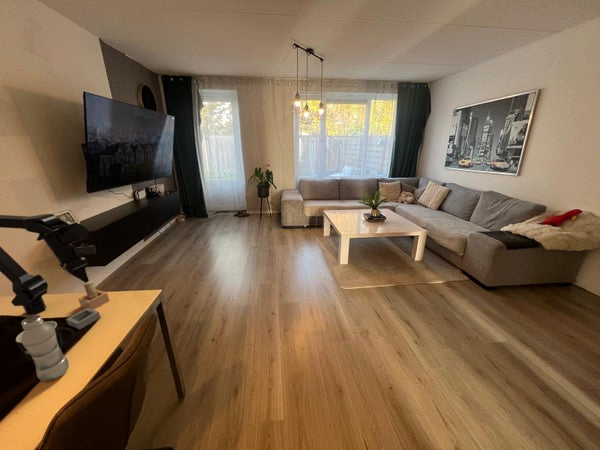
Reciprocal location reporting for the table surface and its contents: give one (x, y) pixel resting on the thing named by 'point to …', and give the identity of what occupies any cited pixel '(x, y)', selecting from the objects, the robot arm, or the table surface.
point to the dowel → (90, 290)
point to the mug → (58, 337)
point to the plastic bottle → (43, 348)
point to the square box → (94, 300)
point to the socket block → (84, 322)
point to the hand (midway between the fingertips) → (84, 280)
